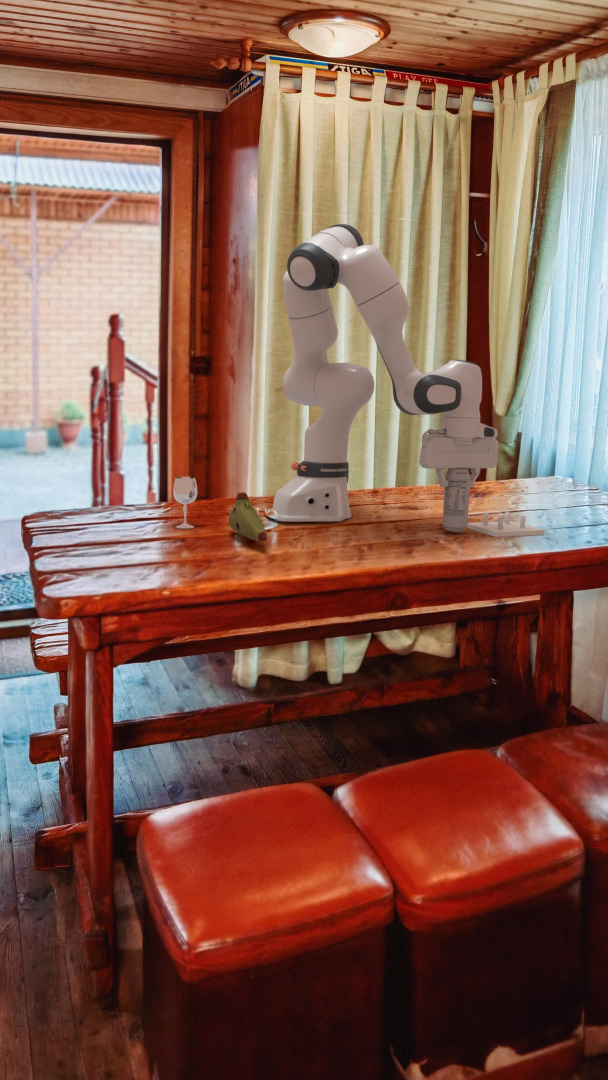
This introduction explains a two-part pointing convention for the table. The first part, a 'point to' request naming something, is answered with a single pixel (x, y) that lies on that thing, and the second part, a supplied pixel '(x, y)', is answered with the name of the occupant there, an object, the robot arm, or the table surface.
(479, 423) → the robot arm
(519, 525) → the grey peg board
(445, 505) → the energy drink can
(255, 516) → the green banana
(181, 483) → the wineglass
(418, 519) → the table surface
